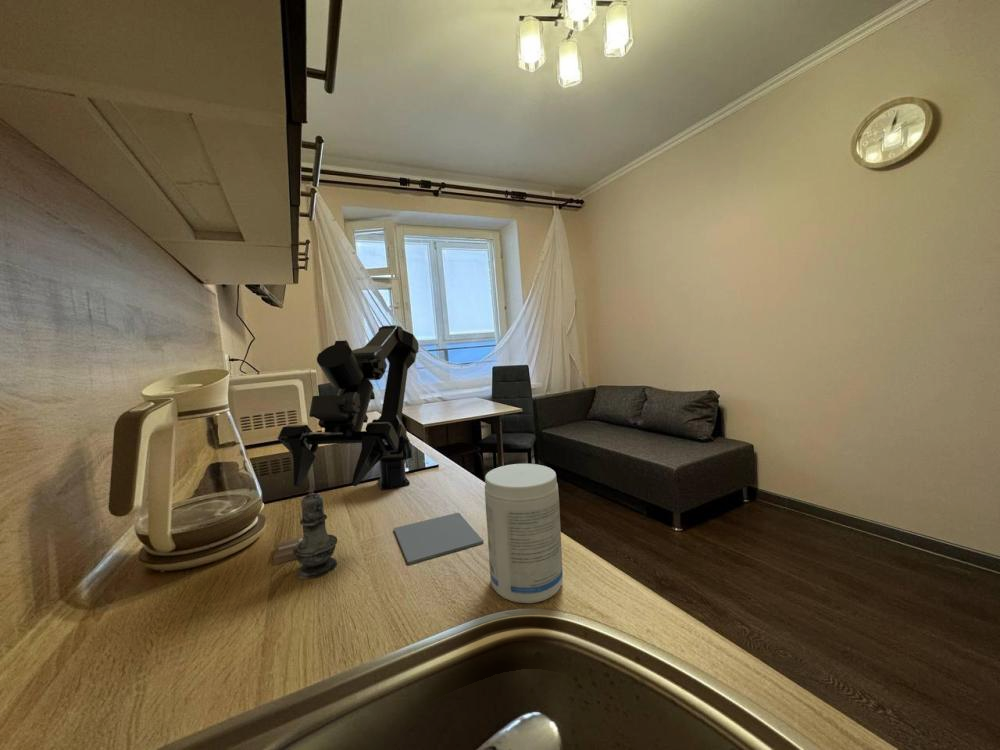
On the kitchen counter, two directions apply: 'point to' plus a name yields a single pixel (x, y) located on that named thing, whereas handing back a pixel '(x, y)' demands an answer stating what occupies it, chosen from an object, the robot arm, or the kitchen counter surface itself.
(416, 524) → the slate mat
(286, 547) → the letter tile
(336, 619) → the kitchen counter surface
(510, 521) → the supplement tub
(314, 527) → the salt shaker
